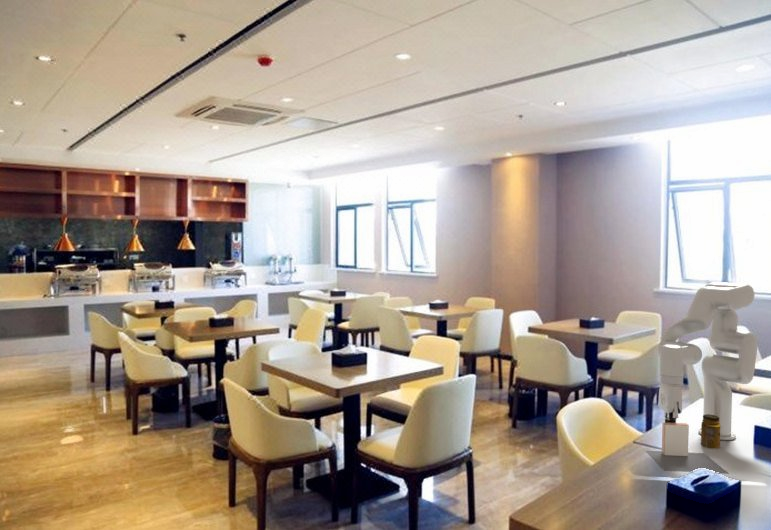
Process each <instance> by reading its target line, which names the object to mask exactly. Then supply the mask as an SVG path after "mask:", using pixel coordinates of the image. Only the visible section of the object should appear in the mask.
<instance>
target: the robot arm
mask: <svg viewBox="0 0 771 530" xmlns="http://www.w3.org/2000/svg"><path fill="white" fill-rule="evenodd" d="M754 300H755V290H754V288H753V287H752V286H751V285H749V284H746V283H734V282H732V283H731V282H710V283H707V284H705V286H703V287H700V288H698V289H697V291H696V293H695V295H694V297H693V298H692V301H691V304H690V306H689V308H688V310H687V313H686V315H685V316H684V317H683V318H680V319H679V320H677V321H676V322H674V323H673V324H672V325H670V326H669V327H668V328H666V329H665V332H664V333H663V335H662V337H661V339H660V342H659V344H658V348H657V349H658V350H657V353H658V356H659V390H658V400H657V401H658V402H657V404H658V407H659V408H660V409H661V410H662V411H663V412H664V422H665V423H677V419H679V414H682V411H683V391H682V386H684V370H685V369H684V367H685V366H686V365H688V366H692V365H697V364H698V363H699V362H700V361H701V360H702V361H701V371H702V376H703V377H702V378H703V415H706V414H710V415H715V416H718V417H719V424H720V441H731V440H735V439H736V438H737V436H736V433H735V432H733V431H732V412H733V411H732V410H733V409H732V407H733V390H732V388H731V386H730V385H729V383H728V382H730V383H733V384H734V383H735V384H740V385H747V384H750V383H751V382H752V381H753V378H754V375H755V368H756V361H757V355H758V338H757V336H756V335H755V333H754V332H752V331H749V330H746V329H738V323H739V322H738V321H739V317H738V316H739V315H738V313H737V311H739V310H741V309H743V308H748V307H749V306H750V305H751V304H752V303H753V302H754ZM710 326H711V330H710V335H709V336H710V337H709V345H710V348H711V349H712V350H714V351H716V352H722V353H727V354H735V355H738V357H733V356H728V355H721V354H708V355H706V356H704V358H703V352H702V349H701V348H700V346H698V345H696V344H694V343H689V342H681V341H678V340H679V339H680V338H683V337H684V336H687V335H690V334H693V333H694V334H695V333H697V332H702V331H704V330H707V329H709V327H710ZM702 358H703V359H702ZM684 365H685V366H684ZM698 433H699V434H700V435H701V427H699V428H698Z"/></svg>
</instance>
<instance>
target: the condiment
mask: <svg viewBox="0 0 771 530" xmlns="http://www.w3.org/2000/svg"><path fill="white" fill-rule="evenodd" d="M700 424H701V427H700V428H701V434H700V445H701V446H702V447H704V448H707V449H719V448H721V440H720V424H719V417H718V416H715V415H710V414H706V415H703V416H702V422H701V423H700Z"/></svg>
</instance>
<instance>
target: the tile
mask: <svg viewBox="0 0 771 530" xmlns="http://www.w3.org/2000/svg"><path fill="white" fill-rule="evenodd" d="M689 427H690V425H689V424H688V423H687V422H686V423H682V422H676V423H665V421H664V422H662V427H661V428H662V430H661V435H662V436H661V451H662V454H663V455H668V456H688V452H689V434H690V432H689V431H690V430H689Z"/></svg>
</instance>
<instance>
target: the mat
mask: <svg viewBox="0 0 771 530" xmlns="http://www.w3.org/2000/svg"><path fill="white" fill-rule="evenodd" d="M645 452H646V453H647V455H649V456H650V457H651V459H653V461H654V462H655V463H656V464H657V465H658V466H659V467H660V468H661V469H662V470H663V471H666V472H668V471H669V472H683V473H684V472H685V473H686V472H687V473H692V472H691V471H693V470H695V469H698V468H706V469H709V470H713V471H715V472H719V473H718V474H728V475H729V474H730V473H729V472H728V471H727V470H725V469H724V468H723V467H722V466H721V465H720V464H718V463H717V462H716V461H714V460H713V458H711V457H710V456H709V455H708V454H706V453H705V452H689V451H688V456H668V455H663V454H662V450H661V451H660V450H645Z"/></svg>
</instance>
